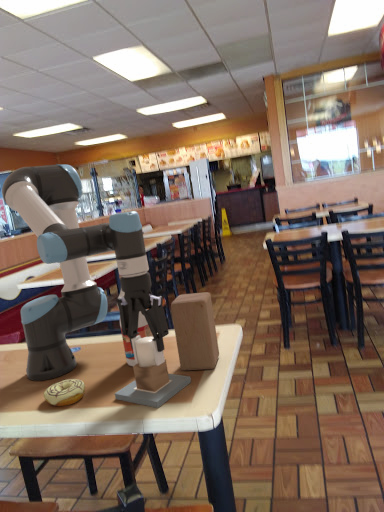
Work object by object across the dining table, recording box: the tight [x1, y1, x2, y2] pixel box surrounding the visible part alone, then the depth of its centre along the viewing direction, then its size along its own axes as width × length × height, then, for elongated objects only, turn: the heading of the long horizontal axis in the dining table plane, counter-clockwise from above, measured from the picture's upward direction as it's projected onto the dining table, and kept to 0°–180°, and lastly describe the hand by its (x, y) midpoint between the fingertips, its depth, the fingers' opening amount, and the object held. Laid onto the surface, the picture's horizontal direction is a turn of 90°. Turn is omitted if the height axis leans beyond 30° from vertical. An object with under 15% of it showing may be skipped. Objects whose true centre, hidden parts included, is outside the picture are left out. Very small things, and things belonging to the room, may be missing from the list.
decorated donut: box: [43, 378, 86, 407], centre depth 112 cm, size 10×11×4 cm
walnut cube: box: [132, 358, 169, 392], centre depth 108 cm, size 6×6×6 cm
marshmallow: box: [135, 337, 156, 367], centre depth 107 cm, size 6×6×6 cm
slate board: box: [114, 372, 192, 409], centre depth 109 cm, size 14×14×2 cm
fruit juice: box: [116, 274, 153, 367], centre depth 129 cm, size 9×9×28 cm
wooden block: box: [170, 291, 220, 371], centre depth 120 cm, size 10×10×20 cm
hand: (150, 362), depth 107 cm, fingers open, 6 cm apart
